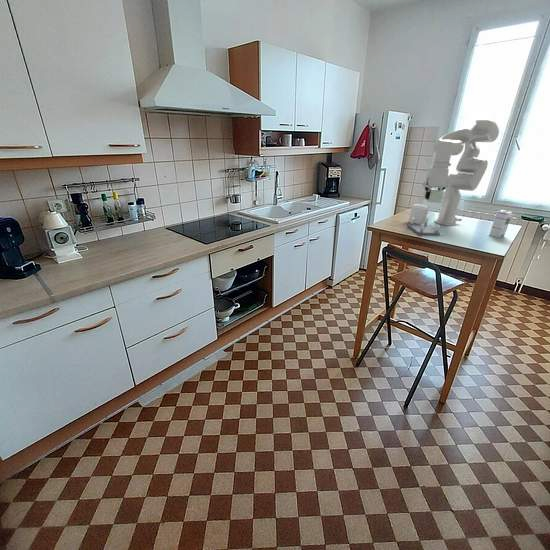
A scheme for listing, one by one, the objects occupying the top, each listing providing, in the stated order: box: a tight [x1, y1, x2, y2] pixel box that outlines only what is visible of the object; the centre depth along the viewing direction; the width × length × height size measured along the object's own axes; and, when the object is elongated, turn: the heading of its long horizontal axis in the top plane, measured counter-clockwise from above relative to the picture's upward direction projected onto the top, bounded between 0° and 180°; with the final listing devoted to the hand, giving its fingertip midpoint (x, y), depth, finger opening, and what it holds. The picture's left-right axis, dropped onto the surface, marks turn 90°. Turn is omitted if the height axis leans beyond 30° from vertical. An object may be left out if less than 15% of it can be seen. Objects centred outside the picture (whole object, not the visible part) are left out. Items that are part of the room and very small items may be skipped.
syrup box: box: [489, 209, 513, 238], centre depth 169 cm, size 6×6×14 cm
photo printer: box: [408, 203, 429, 225], centre depth 190 cm, size 10×4×12 cm, turn 39°
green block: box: [422, 187, 444, 204], centre depth 167 cm, size 5×11×6 cm, turn 179°
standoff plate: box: [407, 217, 441, 236], centre depth 176 cm, size 12×17×6 cm
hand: (431, 198), depth 168 cm, fingers closed on green block, 5 cm apart
